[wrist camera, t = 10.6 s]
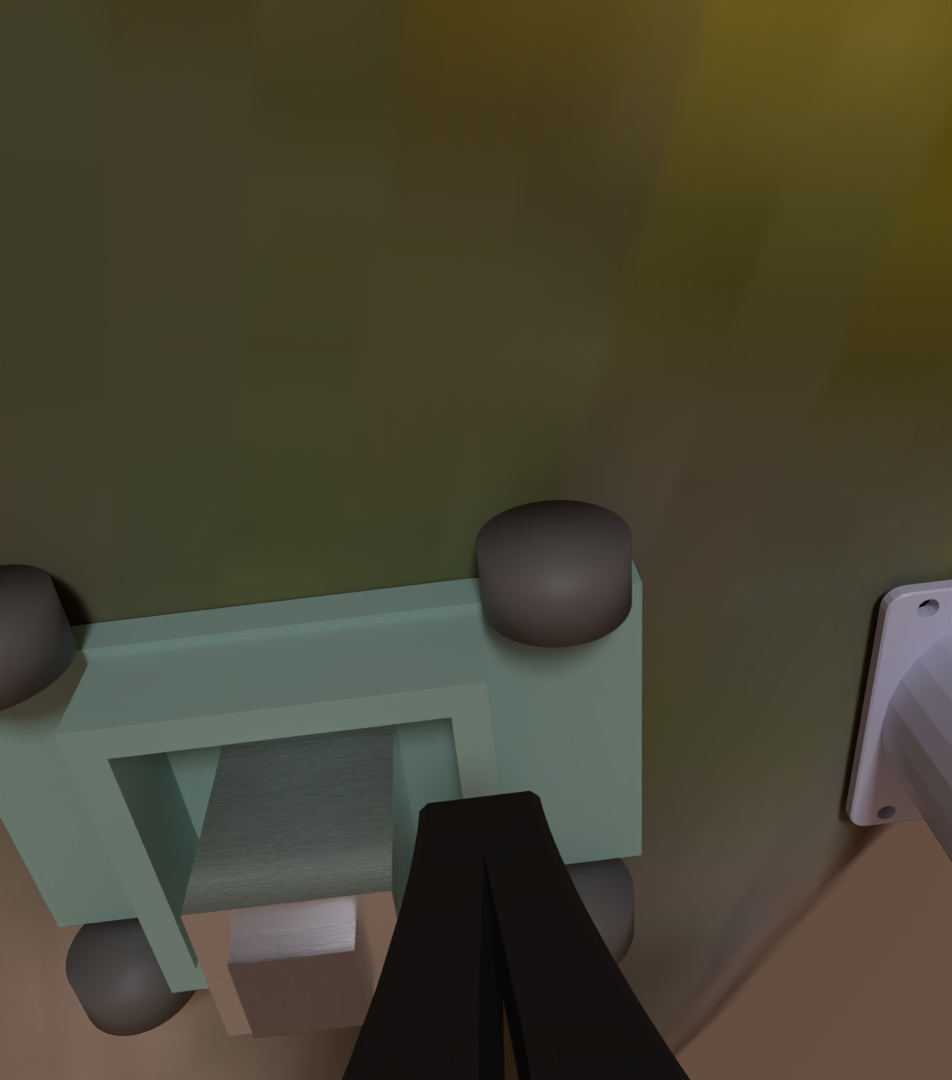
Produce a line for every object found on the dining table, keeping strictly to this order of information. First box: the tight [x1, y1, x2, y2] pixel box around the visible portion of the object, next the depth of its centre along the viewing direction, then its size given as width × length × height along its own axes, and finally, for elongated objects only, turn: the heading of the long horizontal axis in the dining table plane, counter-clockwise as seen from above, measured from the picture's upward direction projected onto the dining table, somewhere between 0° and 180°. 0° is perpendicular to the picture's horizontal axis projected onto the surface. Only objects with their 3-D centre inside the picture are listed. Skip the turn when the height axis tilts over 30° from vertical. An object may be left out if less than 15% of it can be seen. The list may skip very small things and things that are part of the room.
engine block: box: [180, 724, 414, 1038], centre depth 20 cm, size 4×4×6 cm
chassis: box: [0, 500, 642, 1036], centre depth 21 cm, size 16×13×4 cm
